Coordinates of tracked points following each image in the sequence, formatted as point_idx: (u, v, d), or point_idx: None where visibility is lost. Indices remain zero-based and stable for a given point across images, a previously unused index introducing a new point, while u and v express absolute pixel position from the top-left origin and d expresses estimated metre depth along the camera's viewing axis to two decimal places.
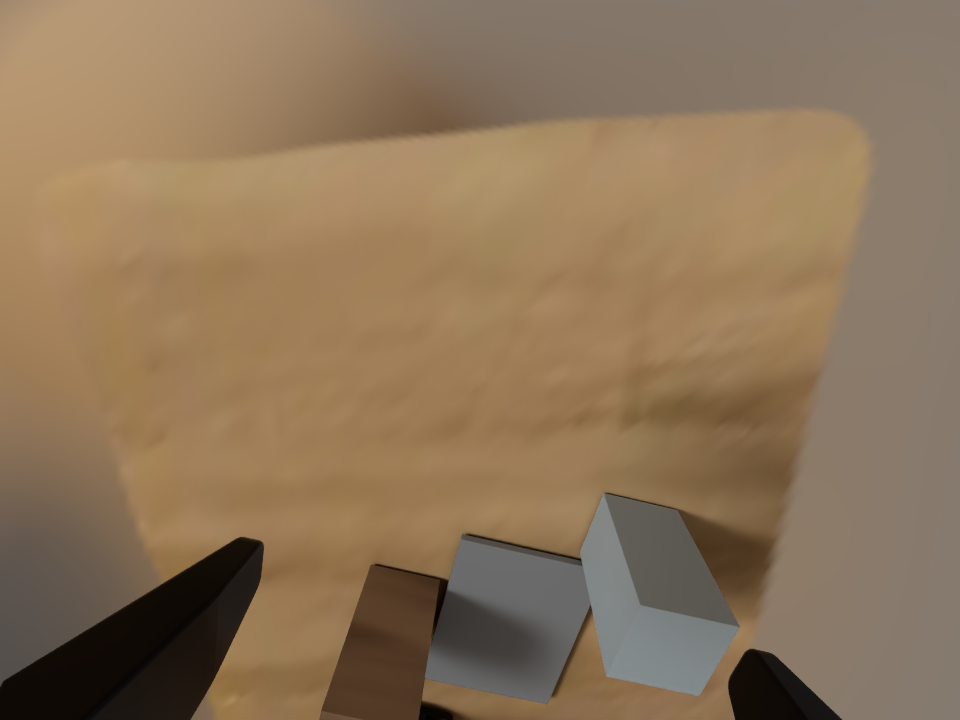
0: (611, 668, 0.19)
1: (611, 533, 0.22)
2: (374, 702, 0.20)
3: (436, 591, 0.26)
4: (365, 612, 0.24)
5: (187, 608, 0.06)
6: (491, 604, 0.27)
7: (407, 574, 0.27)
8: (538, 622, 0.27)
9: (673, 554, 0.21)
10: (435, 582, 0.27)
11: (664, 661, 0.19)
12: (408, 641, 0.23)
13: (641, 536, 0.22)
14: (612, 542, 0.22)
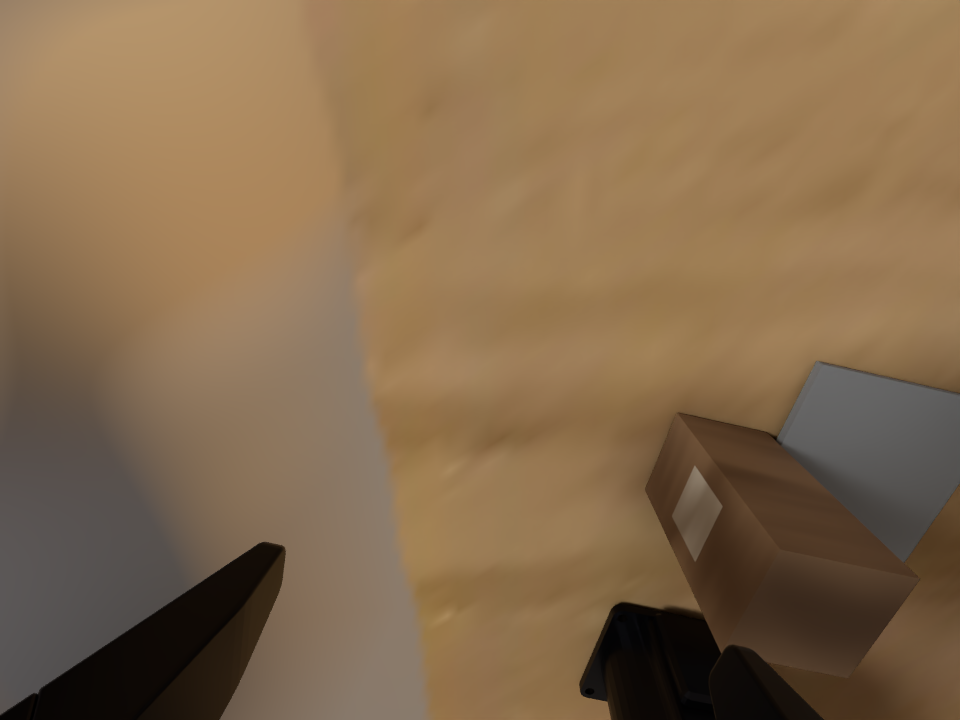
0: None
1: None
2: (834, 545, 0.14)
3: (775, 442, 0.20)
4: (720, 454, 0.17)
5: (215, 614, 0.06)
6: (837, 463, 0.20)
7: (726, 424, 0.20)
8: (895, 488, 0.21)
9: None
10: (765, 434, 0.20)
11: None
12: (800, 485, 0.16)
13: None
14: None
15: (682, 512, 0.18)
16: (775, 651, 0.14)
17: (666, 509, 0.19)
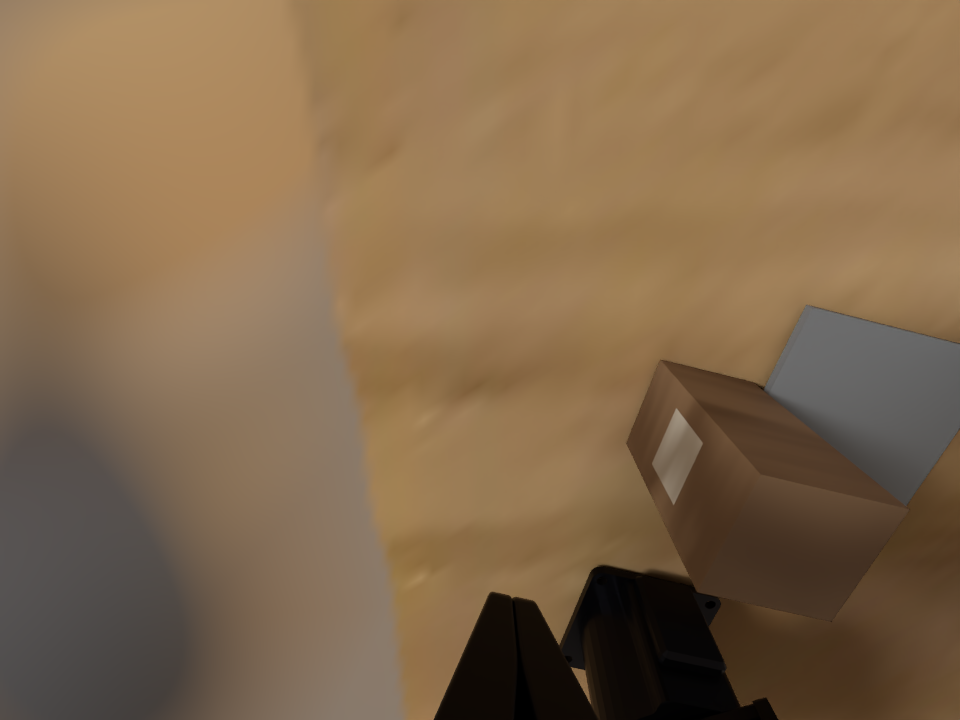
0: None
1: None
2: (818, 475, 0.13)
3: (762, 390, 0.19)
4: (702, 395, 0.17)
5: (505, 675, 0.07)
6: (826, 415, 0.19)
7: (711, 373, 0.19)
8: (886, 443, 0.20)
9: None
10: (751, 383, 0.19)
11: None
12: (786, 426, 0.16)
13: None
14: None
15: (662, 457, 0.17)
16: (754, 590, 0.13)
17: (646, 458, 0.18)
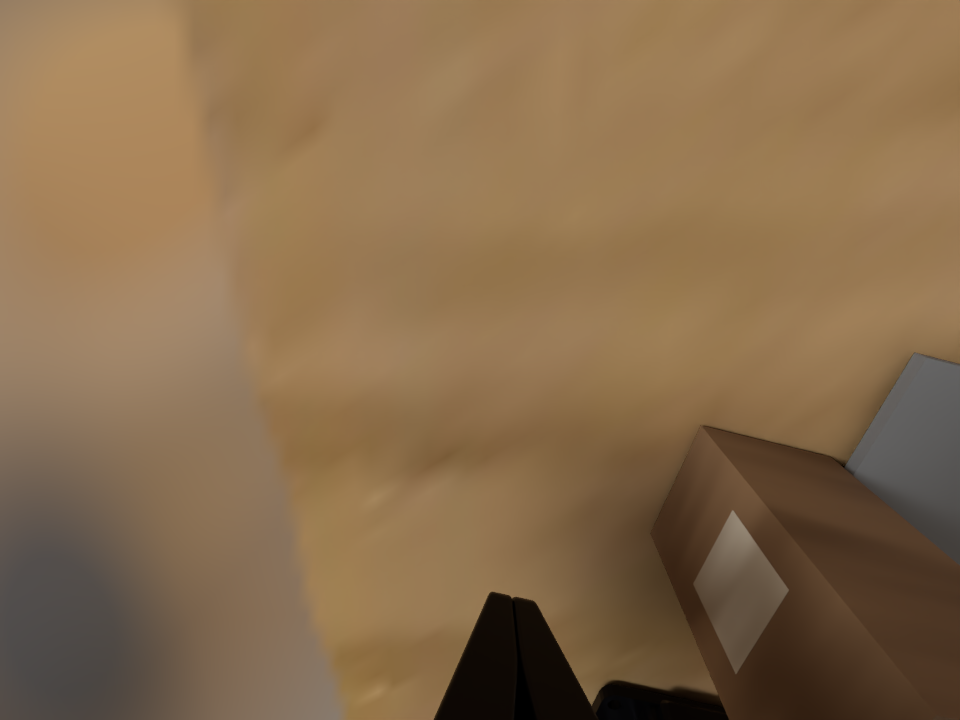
0: None
1: None
2: None
3: (847, 473, 0.13)
4: (775, 495, 0.11)
5: (505, 676, 0.07)
6: (933, 504, 0.14)
7: (773, 444, 0.14)
8: None
9: None
10: (829, 460, 0.14)
11: None
12: (911, 553, 0.10)
13: None
14: None
15: (711, 582, 0.12)
16: None
17: (684, 571, 0.13)
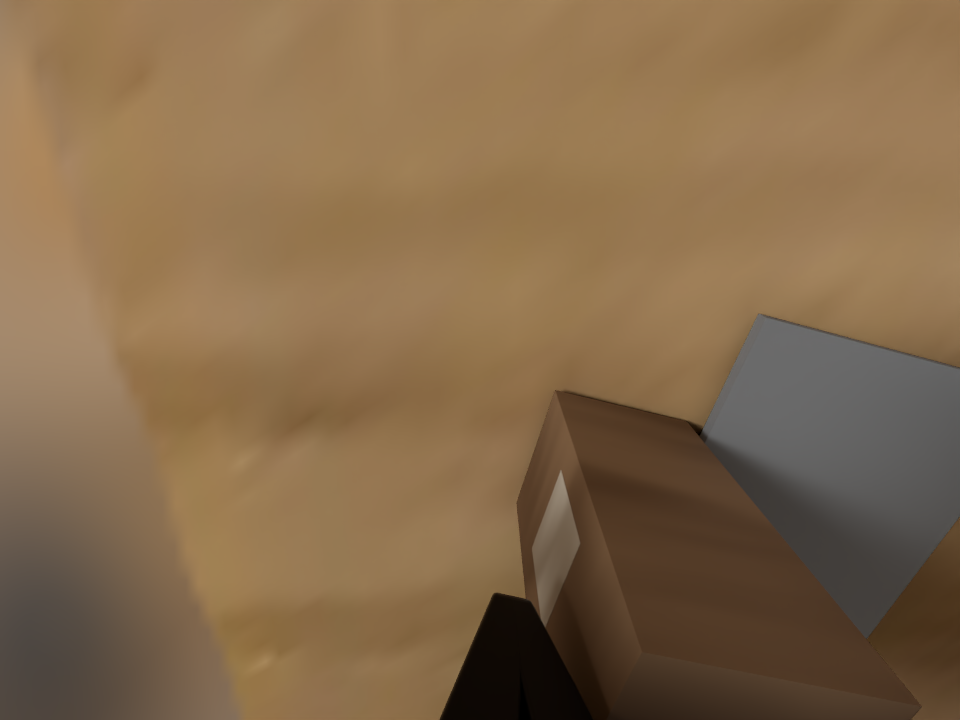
0: None
1: None
2: (758, 630, 0.07)
3: (695, 435, 0.13)
4: (596, 453, 0.11)
5: (510, 676, 0.07)
6: (789, 471, 0.14)
7: (627, 409, 0.14)
8: (873, 510, 0.14)
9: None
10: (682, 424, 0.14)
11: None
12: (718, 506, 0.10)
13: None
14: None
15: (541, 544, 0.11)
16: None
17: (529, 536, 0.13)
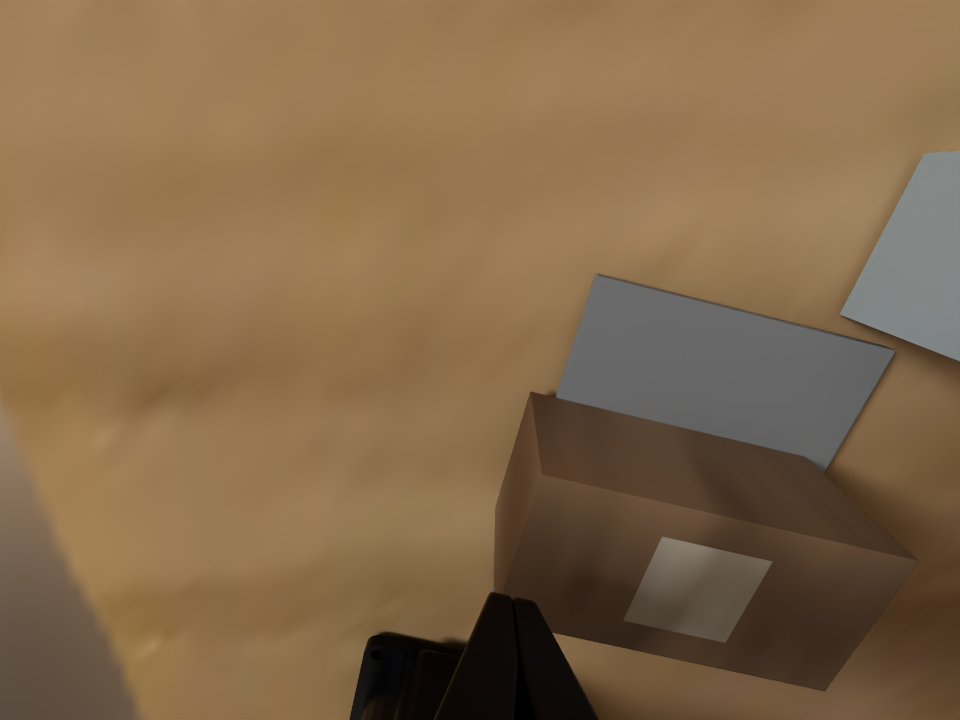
0: None
1: None
2: (822, 492, 0.12)
3: (560, 400, 0.13)
4: (680, 492, 0.10)
5: (505, 675, 0.07)
6: None
7: (540, 424, 0.11)
8: None
9: None
10: (540, 397, 0.13)
11: None
12: (688, 445, 0.12)
13: None
14: None
15: (655, 605, 0.11)
16: None
17: (597, 618, 0.11)
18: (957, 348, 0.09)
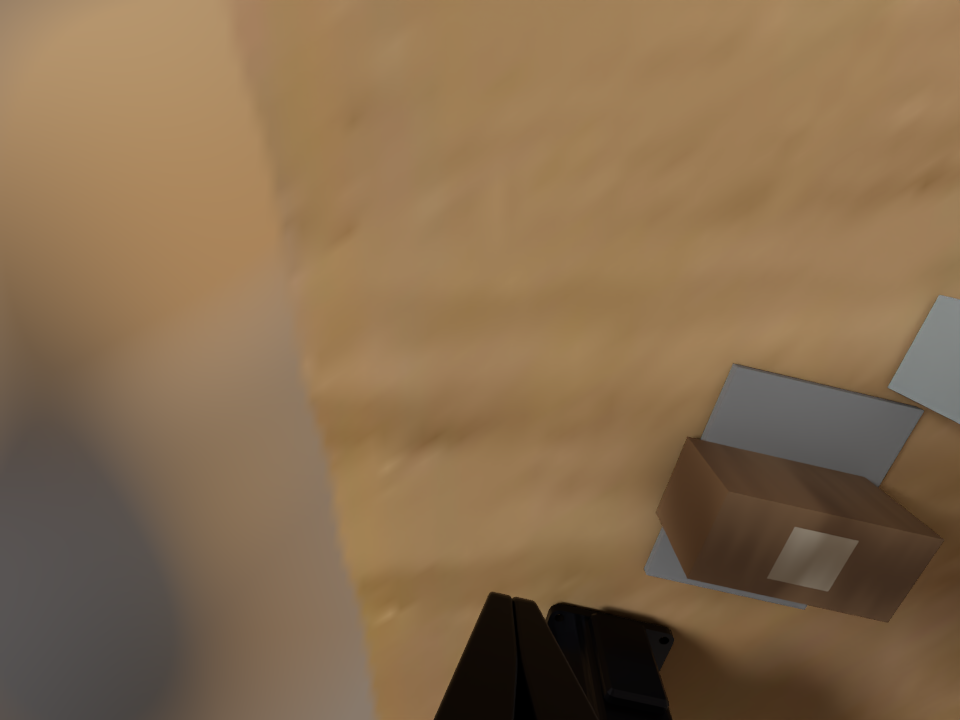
0: None
1: None
2: (881, 500, 0.19)
3: (707, 442, 0.21)
4: (803, 501, 0.17)
5: (505, 676, 0.07)
6: None
7: (708, 460, 0.19)
8: None
9: None
10: (695, 440, 0.20)
11: None
12: (794, 471, 0.20)
13: None
14: None
15: (787, 568, 0.18)
16: None
17: (751, 577, 0.18)
18: None
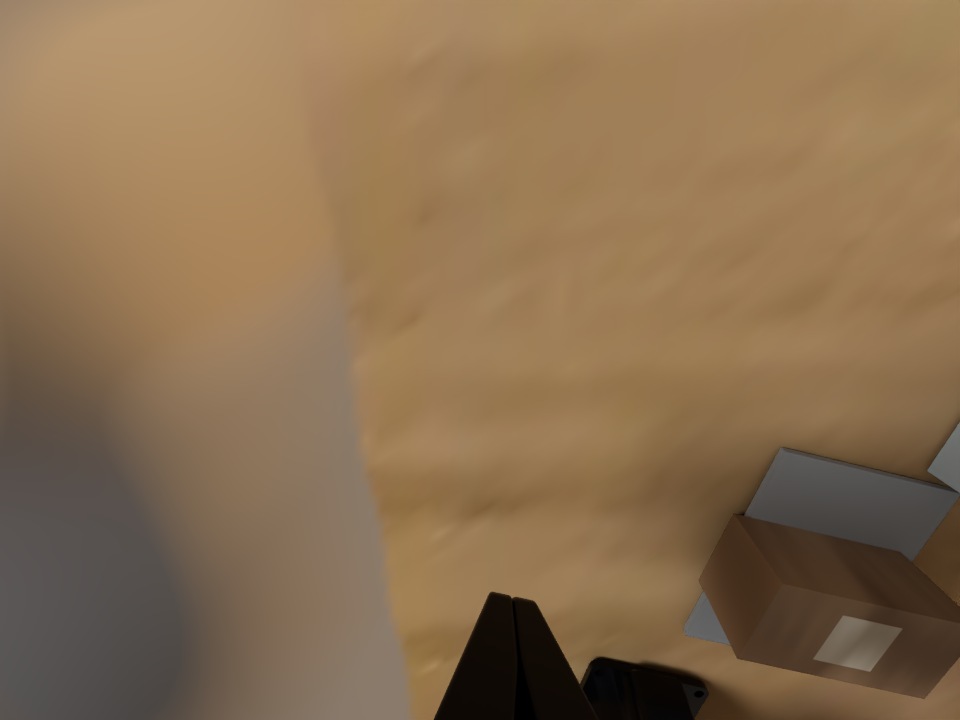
0: None
1: None
2: (920, 581, 0.20)
3: (752, 519, 0.21)
4: (851, 589, 0.18)
5: (505, 676, 0.07)
6: None
7: (757, 543, 0.20)
8: None
9: None
10: (741, 518, 0.21)
11: None
12: (837, 550, 0.21)
13: None
14: None
15: (833, 651, 0.19)
16: None
17: (798, 658, 0.19)
18: None
